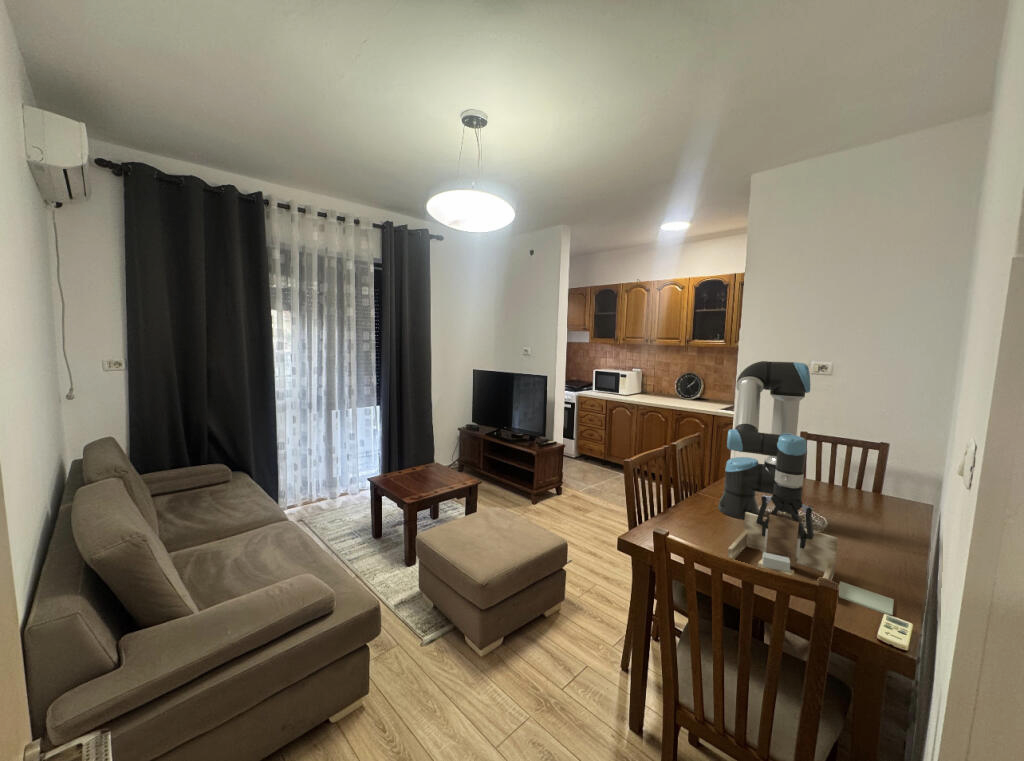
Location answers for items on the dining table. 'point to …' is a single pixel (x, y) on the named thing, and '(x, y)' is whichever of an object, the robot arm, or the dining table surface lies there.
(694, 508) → the dining table surface
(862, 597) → the mat
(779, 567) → the offcut top
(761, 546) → the zigzag patterned toy table
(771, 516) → the cardboard parcel
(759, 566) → the offcut bottom
